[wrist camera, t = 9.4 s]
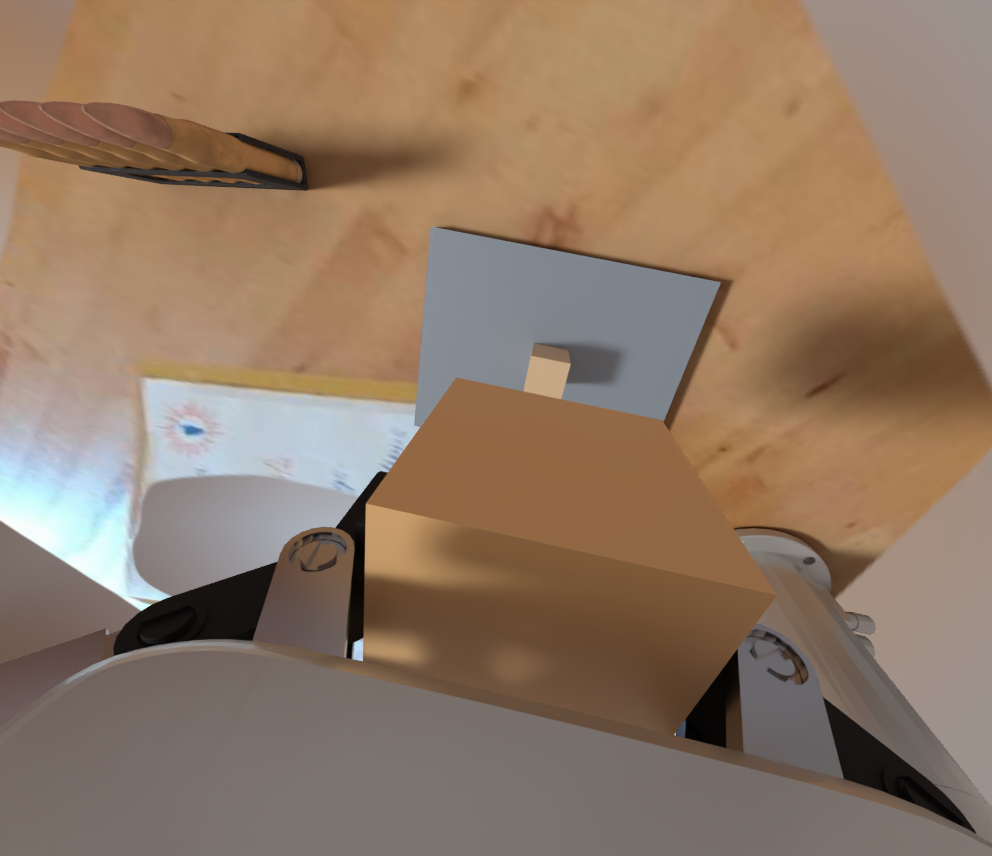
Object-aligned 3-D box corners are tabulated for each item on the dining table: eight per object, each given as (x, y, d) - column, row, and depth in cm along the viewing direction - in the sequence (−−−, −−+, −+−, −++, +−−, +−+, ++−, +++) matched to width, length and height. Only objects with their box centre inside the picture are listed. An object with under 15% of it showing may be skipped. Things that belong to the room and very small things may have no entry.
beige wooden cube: (661, 420, 11) (777, 595, 5) (600, 570, 13) (634, 787, 8) (456, 377, 11) (365, 503, 5) (436, 533, 14) (361, 720, 8)
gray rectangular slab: (714, 281, 23) (748, 287, 19) (638, 468, 30) (652, 502, 26) (435, 227, 24) (412, 222, 20) (418, 420, 30) (397, 445, 26)
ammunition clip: (304, 156, 24) (95, 74, 13) (309, 190, 24) (116, 141, 14) (151, 150, 25) (-160, 71, 14) (160, 183, 25) (-127, 133, 15)
